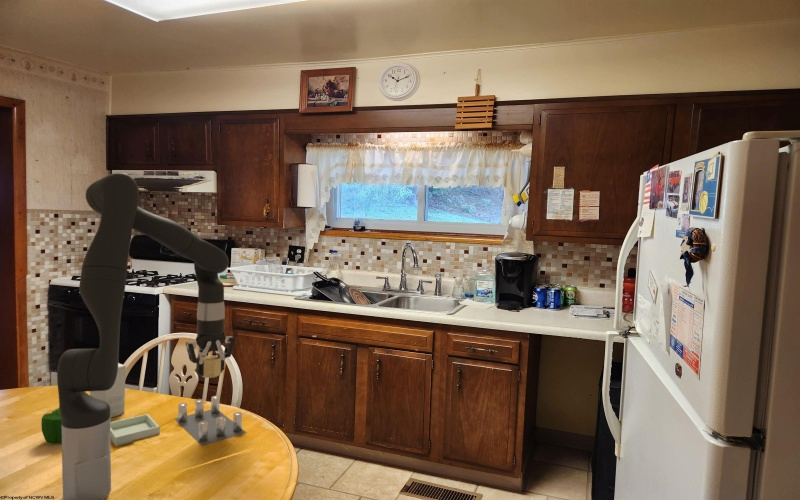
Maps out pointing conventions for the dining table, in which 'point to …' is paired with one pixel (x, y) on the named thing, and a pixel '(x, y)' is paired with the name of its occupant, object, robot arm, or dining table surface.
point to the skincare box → (114, 393)
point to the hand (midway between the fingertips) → (210, 373)
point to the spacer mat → (193, 427)
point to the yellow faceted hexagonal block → (211, 366)
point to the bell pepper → (52, 427)
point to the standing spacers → (204, 424)
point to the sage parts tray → (132, 429)
